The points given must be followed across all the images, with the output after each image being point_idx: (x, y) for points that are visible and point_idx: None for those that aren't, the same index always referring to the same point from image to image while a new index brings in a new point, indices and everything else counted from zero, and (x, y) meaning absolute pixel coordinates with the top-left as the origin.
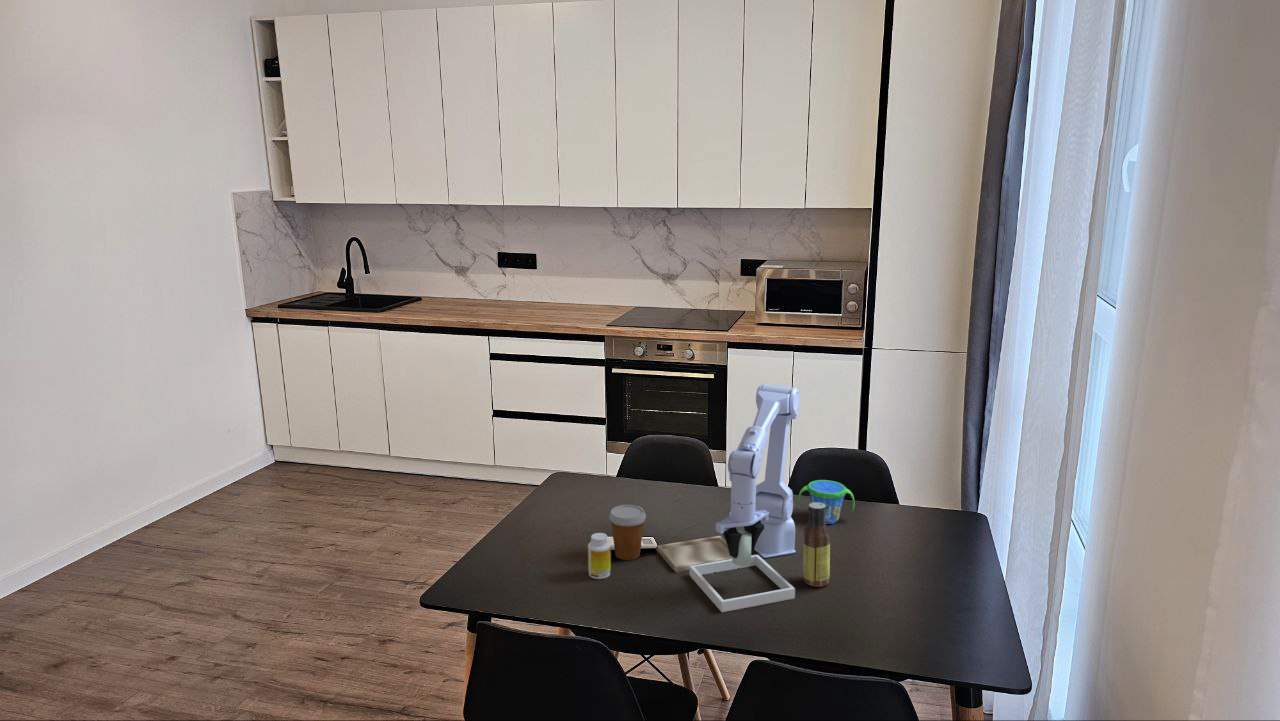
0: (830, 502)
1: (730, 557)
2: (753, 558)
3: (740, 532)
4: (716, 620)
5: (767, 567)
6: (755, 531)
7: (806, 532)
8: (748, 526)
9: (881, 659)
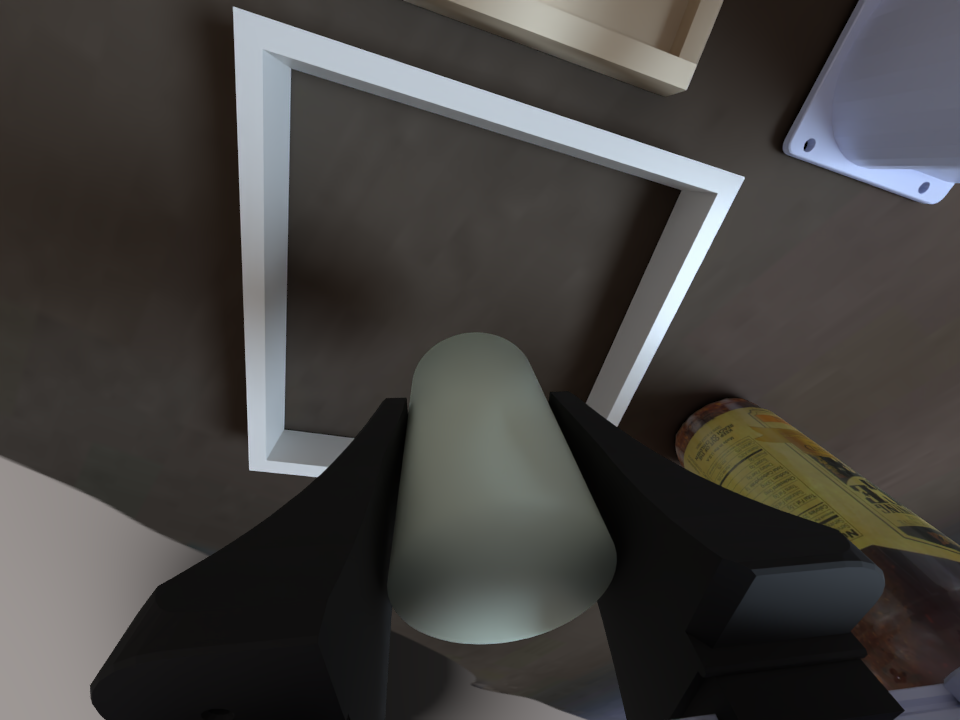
0: None
1: (621, 49)
2: (694, 187)
3: (520, 549)
4: (223, 467)
5: (650, 323)
6: (622, 669)
7: (909, 671)
8: (661, 615)
9: (509, 675)
